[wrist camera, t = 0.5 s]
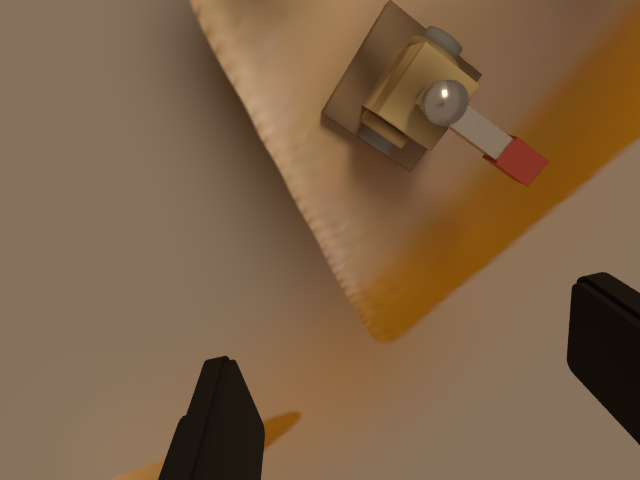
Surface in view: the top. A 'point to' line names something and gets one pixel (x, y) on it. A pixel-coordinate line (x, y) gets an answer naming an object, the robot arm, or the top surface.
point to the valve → (397, 85)
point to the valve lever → (478, 130)
